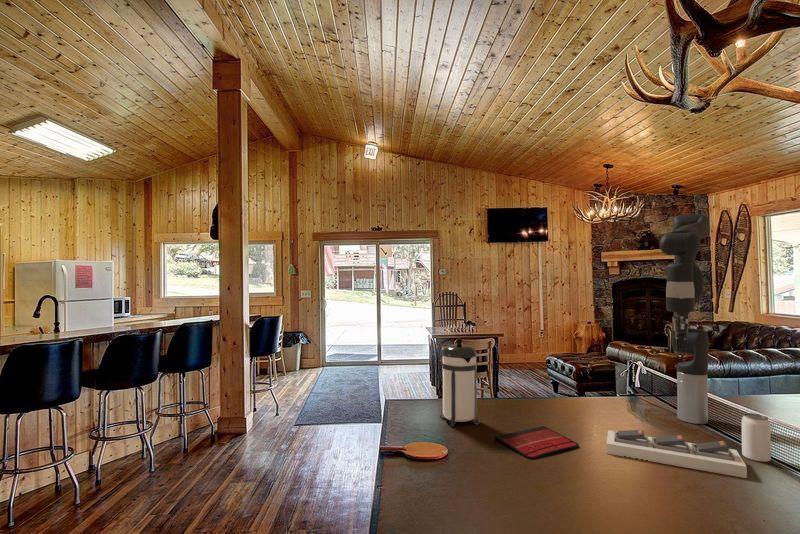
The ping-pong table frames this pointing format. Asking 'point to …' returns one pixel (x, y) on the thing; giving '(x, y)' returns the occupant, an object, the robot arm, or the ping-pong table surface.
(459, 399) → the coffee press
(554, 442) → the binder
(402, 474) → the ping-pong table surface
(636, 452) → the switch panel
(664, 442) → the rocker
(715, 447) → the rocker
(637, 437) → the rocker
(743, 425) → the can
